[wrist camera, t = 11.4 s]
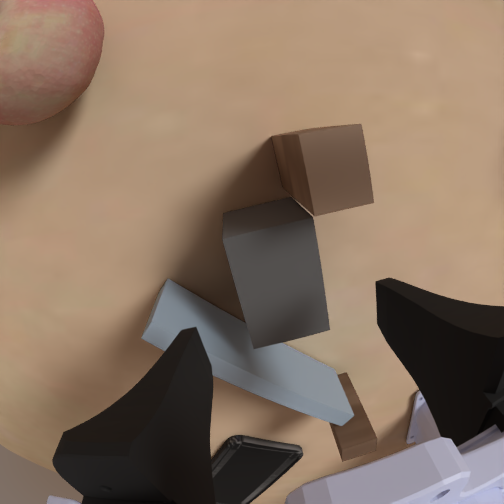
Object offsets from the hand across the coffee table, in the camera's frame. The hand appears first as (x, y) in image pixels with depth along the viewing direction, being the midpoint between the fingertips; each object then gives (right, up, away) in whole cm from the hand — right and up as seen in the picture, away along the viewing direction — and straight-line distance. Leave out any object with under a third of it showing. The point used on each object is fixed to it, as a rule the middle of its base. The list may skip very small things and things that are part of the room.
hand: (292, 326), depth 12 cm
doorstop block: (-1, +3, +7) cm, 8 cm away
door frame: (+3, +1, +8) cm, 9 cm away
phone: (-3, -21, +16) cm, 27 cm away
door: (-2, -3, +9) cm, 10 cm away
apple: (-13, +14, +2) cm, 19 cm away
